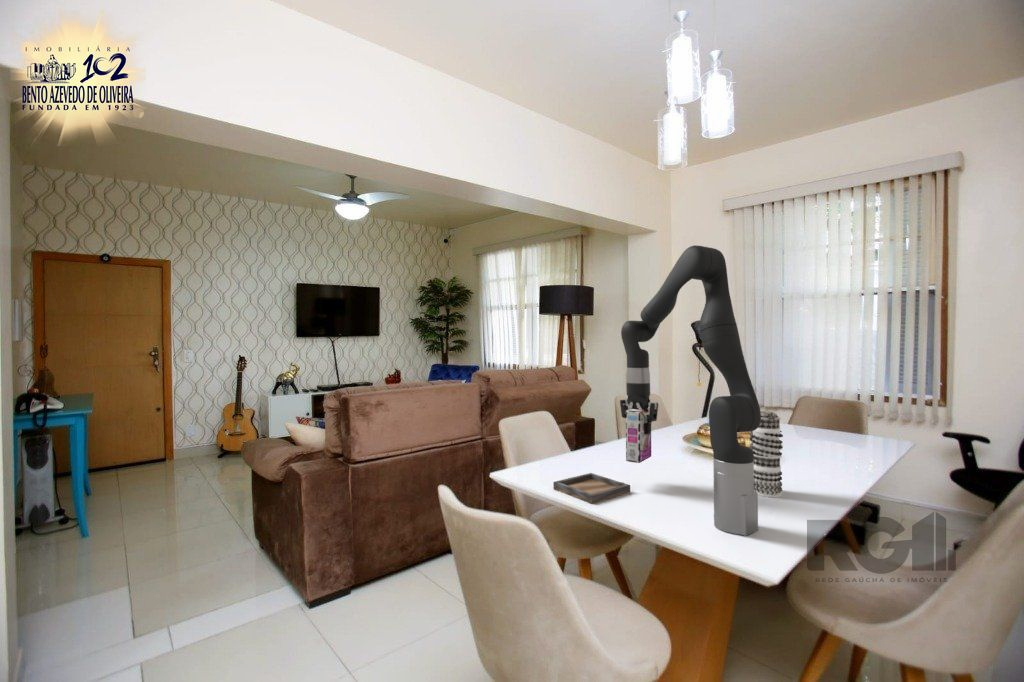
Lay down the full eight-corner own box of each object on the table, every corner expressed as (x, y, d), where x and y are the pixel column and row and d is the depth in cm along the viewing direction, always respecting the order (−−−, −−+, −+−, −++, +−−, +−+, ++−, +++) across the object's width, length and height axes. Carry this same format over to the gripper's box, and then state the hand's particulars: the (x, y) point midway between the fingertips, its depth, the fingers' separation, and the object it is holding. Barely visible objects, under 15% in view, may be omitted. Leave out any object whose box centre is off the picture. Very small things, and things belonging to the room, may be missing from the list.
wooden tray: (630, 492, 143) (630, 485, 143) (591, 503, 133) (591, 496, 133) (591, 479, 157) (591, 472, 157) (553, 489, 147) (553, 481, 147)
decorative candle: (786, 492, 142) (785, 412, 143) (779, 499, 136) (778, 415, 136) (754, 486, 149) (753, 409, 149) (746, 493, 142) (745, 412, 142)
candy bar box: (640, 463, 143) (639, 411, 144) (625, 461, 146) (624, 410, 147) (652, 456, 153) (651, 407, 153) (638, 454, 155) (637, 406, 156)
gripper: (663, 382, 146) (664, 434, 146) (628, 379, 158) (629, 428, 158) (649, 383, 142) (649, 437, 142) (613, 380, 154) (614, 431, 153)
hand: (638, 432), depth 150 cm, fingers closed on candy bar box, 6 cm apart
